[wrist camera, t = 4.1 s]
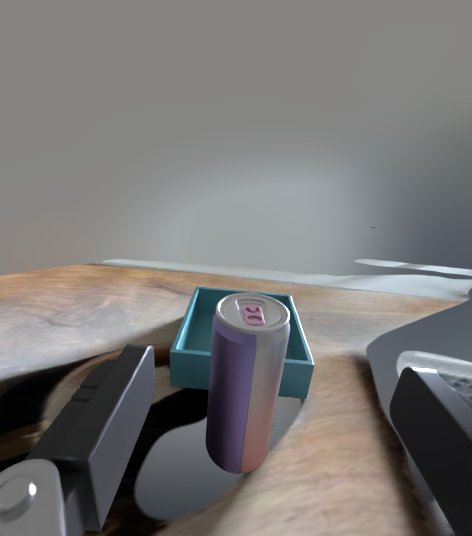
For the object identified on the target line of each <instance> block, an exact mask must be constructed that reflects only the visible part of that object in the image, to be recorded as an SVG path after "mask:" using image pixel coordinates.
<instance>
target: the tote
mask: <svg viewBox="0 0 472 536" xmlns="http://www.w3.org/2000/svg"><path fill="white" fill-rule="evenodd" d="M236 293H256V294H262V295H266V296H269V297H271V298H274V299H276V300H278V301H279V302H281V303H282V304H283V305H284V306H285V307H286V308H287V309H288V311H289V314H290V319H289V324H290V333H289V339H288V344H287V349H286V355H285V360H284V366H283V371H282V377H281V382H280V388H279V393H278V396H283V397H295V398H305V399H306V398H307V394H308V390H309V385H310V381H311V377H312V373H313V368H314V363H313V360H312V357H311V354H310V351H309V348H308V345H307V342H306V339H305V336H304V333H303V330H302V327H301V324H300V321H299V318H298V315H297V312H296V309H295V306H294V303H293V300H292V297H291V295H284V294H273V293H262V292H251V291H240V290H229V289H218V288H206V287H196V288H195V291H194V293H193V296H192V298H191V301H190V303H189V306H188V308H187V311H186V313H185V316H184V318H183V321H182V323H181V326H180V328H179V331H178V333H177V336H176V338H175V341H174V343H173V346H172V348H171V350H170V386H173V387H184V388H195V389H206V390H209V377H210V360H211V343H212V327H213V317H214V315H215V313H216V306H217V304H218V302H219V301H220V300H221V299H222V298H224V297H226V296H228V295H232V294H236Z"/></svg>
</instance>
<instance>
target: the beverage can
mask: <svg viewBox="0 0 472 536" xmlns="http://www.w3.org/2000/svg"><path fill="white" fill-rule="evenodd" d="M289 319H290V314H289V311H288V309H287V308H286V307H285V306H284V305H283V304H282V303H281V302H279V301H278V300H276V299H274V298H271V297H269V296H266V295H262V294H256V293H236V294H232V295H228V296H226V297H224V298H222V299H221V300H220V301H219V302H218V304H217V306H216V313H215V315H214V317H213V327H212V343H211V360H210V377H209V394H208V410H207V427H206V447H207V451H208V453H209V455H210V457H211V459H212V460H213V461H214V463H215V464H216V465H218V466H219V467H220V468H222V469H223V470H225V471H227V472H230V473H235V474H242V473H247V472H250V471H252V470H254V469H256V468H257V467H258V466H259V465H261V463H262V462H263V461H264V459H265V457H266V455H267V452H268V447H269V442H270V436H271V431H272V426H273V420H274V414H275V409H276V404H277V398H278V393H279V388H280V382H281V377H282V371H283V366H284V360H285V355H286V349H287V344H288V339H289V333H290V324H289Z"/></svg>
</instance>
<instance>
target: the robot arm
mask: <svg viewBox="0 0 472 536" xmlns="http://www.w3.org/2000/svg"><path fill="white" fill-rule="evenodd" d="M154 390H155V369H154V349H153V347H152V346H147V345H135V344H128V345H126V347H125V348H124V349H123V351H122V352H121V354H120V355H119V357H118V358H117V360H109V359H107V360H106V361H104V362H103V363H102V364H100V365H99V366H98V367H96V368H95V369H93V370H92V371H91V372H90V374H89V375H88V376H87V378H86V379H85V380H84V382H83V383H82V384H81V387H80V388H78V390H77V391H76V392H75V394H74V395H73V396H72V398H71V401H69V402H68V403H67V404H66V406H65V407H64V408H63V410H62V411H61V412H60V414H59V415H58V416H57V418H56V419H55V420H54V422H53V423H52V424H51V426H50V427H49V428H48V430H47V431H46V432H45V434H44V435H43V436H42V438H41V439H40V440H39V442H38V443H37V444H36V446H35V447H34V448H33V450H32V451H31V452H30V454H29V455H28V456H27V457H26V458H25V460H24V461H23V462H20V463H17V464H15V465H13V466H11V467H9V468H7V469H5V470H4V471H2V472H0V536H83V534H84V532H85V530H90V531H101V529H102V527H103V524H104V522H105V519H106V517H107V514H108V512H109V509H110V507H111V504H112V502H113V499H114V497H115V494H116V492H117V489H118V487H119V484H120V482H121V479H122V476H123V474H124V471H125V469H126V466H127V464H128V461H129V459H130V456H131V454H132V451H133V449H134V446H135V444H136V441H137V439H138V436H139V434H140V431H141V429H142V426H143V424H144V421H145V419H146V416H147V414H148V411H149V409H150V406H151V403H152V400H153V396H154ZM390 416H391V420H392V423H393V425H394V427H395V429H396V430H397V432H398V434H399V436H400V437H401V439H402V441H403V443H404V444H405V446H406V448H407V450H408V451H409V453H410V455H411V457H412V459H413V460H414V462H415V464H416V466H417V467H418V469H419V471H420V473H421V474H422V476H423V478H424V480H425V482H426V483H427V485H428V487H429V489H430V490H431V492H432V494H433V496H434V498H435V499H436V501H437V503H438V505H439V506H440V508H441V510H442V512H443V513H444V515H445V517H446V519H447V521H448V522H449V524H450V526H451V528H452V529H453V531H454V533H455V535H456V536H472V401H470V400H469V399H467V398H466V397H465V396H463V395H462V394H460V393H459V392H458V391H456V390H455V389H454V388H452V387H451V386H450V385H449V384H448V383H447V382H446V381H445V380H444V379H443V378H442V377H441V375H440V374H439V373H438V372H436V371H435V370H432V369H422V368H411V367H406V368H405V369H403V371H402V373H401V376H400V378H399V381H398V384H397V386H396V389H395V392H394V395H393V397H392V400H391V404H390Z"/></svg>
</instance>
